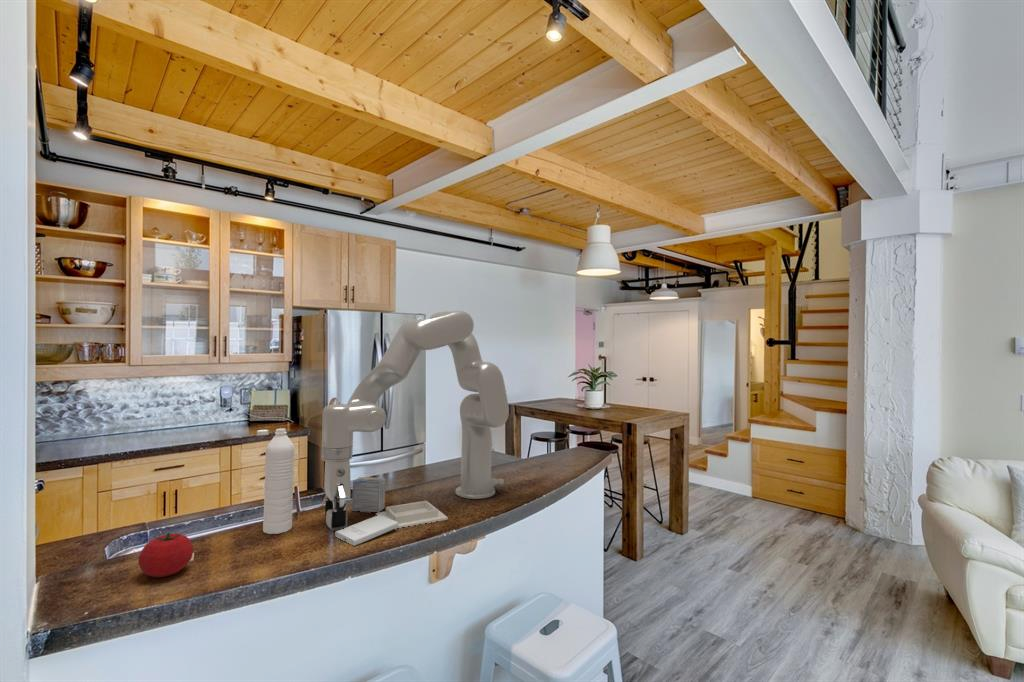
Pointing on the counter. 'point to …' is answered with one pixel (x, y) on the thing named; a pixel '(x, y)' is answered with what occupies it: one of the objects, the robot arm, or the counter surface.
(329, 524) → the usb wall charger
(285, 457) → the water bottle
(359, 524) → the external hard drive
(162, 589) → the counter surface
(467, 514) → the counter surface
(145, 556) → the tomato
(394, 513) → the outlet plate
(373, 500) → the medicine box
